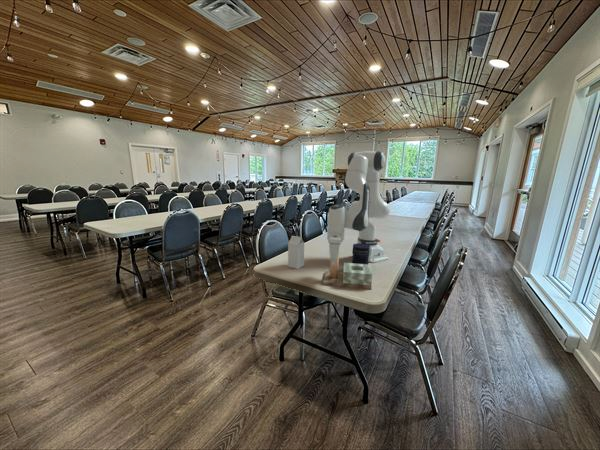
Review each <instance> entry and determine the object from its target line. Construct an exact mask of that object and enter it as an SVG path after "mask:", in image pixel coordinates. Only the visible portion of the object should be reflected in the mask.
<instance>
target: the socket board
mask: <svg viewBox="0 0 600 450" xmlns="http://www.w3.org/2000/svg"><path fill="white" fill-rule="evenodd" d="M322 281H323V282H322V285H323V286H331V287H332V286H333V287H340V288H341V287H342V288H350V289H351V288H353V289H365V290H372V283H373V282H372V281H373V272H372V267H371V264H369V265H368V264H355V263H352V262H343V271H338V278H330V270H325V273H324V277H323V280H322Z"/></svg>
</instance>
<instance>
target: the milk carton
mask: <svg viewBox="0 0 600 450" xmlns="http://www.w3.org/2000/svg"><path fill="white" fill-rule="evenodd" d="M287 243H288V244H287V245H288V246H287V250H288V251H287V255H288V256H287V266H288V267H289V268H291V269H297V270H299V269H300V268H302V267H304V266H305V241H304V240H303V238H302V237H301V236H297V235H296V236H295V235H291V237H290V240H289V241H288V242H287Z"/></svg>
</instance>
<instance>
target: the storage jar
mask: <svg viewBox="0 0 600 450" xmlns="http://www.w3.org/2000/svg"><path fill="white" fill-rule="evenodd" d="M369 253H370V246H369V245H367V244H361V243H358V242H357V243H353V244H352V254H351V255H352V259H351V263H355V264H368V265H370V262H368V259H369Z"/></svg>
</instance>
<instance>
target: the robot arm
mask: <svg viewBox="0 0 600 450" xmlns="http://www.w3.org/2000/svg"><path fill="white" fill-rule="evenodd" d="M386 159H387V158H386V154H385V153H384V152H382V151H379V150H378V151H373V150H366V151H354V152H352V153H351V152H350V154H349V155H348V157H347V166H348V167H347V169H346V173H345V179H344V182H345V185H346V186H347V187H348V188H349V189H350V190H351V191H353V192H355V193H357V194H358V195H359V200H355V201H352V202H351V203H350V205H349V207H348V208H349V209H348V210H347V209H346V208H345V206H344V205H343V204H332V205H331V206H330V207H329V209H328V214H327V230H326V231H327V233H326V240H327V242H328V246H329V258H332V265H335V264H336V259H337V258H338V253H339V254H340V246H341V244H342V242H343V241H344V240H345V229H348V230H349V229H350V230H354V231H358V237H357V244H358V243H361V244H367V245H369V246H370V253H369V259H368V262H369V263H374V264H375V263H379V262H383V261H387V260H388V259H389V257H388V255H386V254H385V249H384V247H382V246H381V245H379V244H378V243H381V239H380V238H377V227H376V225H374V224H373V223H371V222H370V219H378V220H379V219H380V220H381V219H386V218H387V217H388V216H390V212H391V208H390V205H389V204H388V203H387V202H386V201H385V200H384V199H383V198H382V196H381V193H380V179H381V178H380V176H381V175H380V174H381V173H380V170H382V169H383V168H384V167H385V166H386V161H387V160H386Z"/></svg>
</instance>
